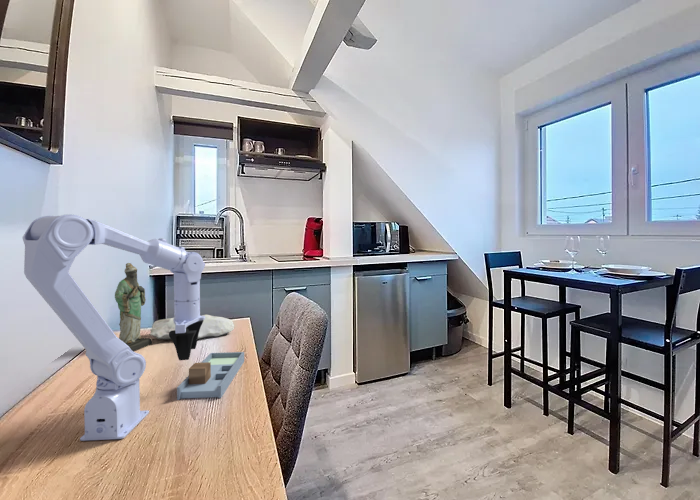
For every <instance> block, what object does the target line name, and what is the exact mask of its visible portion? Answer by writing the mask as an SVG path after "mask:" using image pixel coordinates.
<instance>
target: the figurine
mask: <svg viewBox="0 0 700 500" xmlns="http://www.w3.org/2000/svg"><path fill="white" fill-rule="evenodd" d="M124 274H125V278H123V279H121V280H120V281H119V282H118V284H117V286H116V290H115V292H114V299H115V302H116V303H117V307H118V310H119V324H118V326H119V336H118V338H119V339H120V340H121V341H123V342H124V343H125V344H127V345H128V346H129V347H130V349H131V350H132V351H133V352H136V351H139V350H141V349H144V348H146V347H147V346H150V345H152V344H153V341H152V339H151V338H148V337H142V336H141V325H142V324H141V323H142V322H141V320H142V317H141V316H142V306H144V305H145V303H146V289H145V288H144V287H143V286H141V285H140V284H139V282H138V269H137V267H136V266H134V265H133V264H132V262H127V263H126V264H125V268H124Z"/></svg>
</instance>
